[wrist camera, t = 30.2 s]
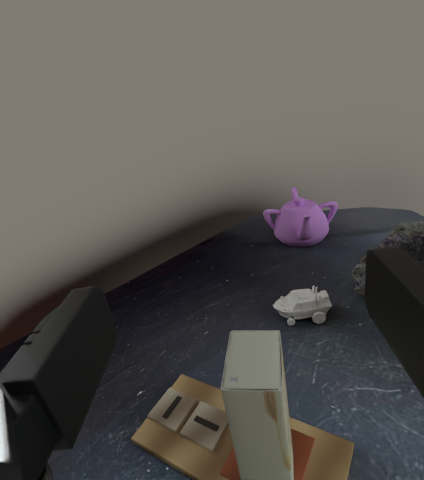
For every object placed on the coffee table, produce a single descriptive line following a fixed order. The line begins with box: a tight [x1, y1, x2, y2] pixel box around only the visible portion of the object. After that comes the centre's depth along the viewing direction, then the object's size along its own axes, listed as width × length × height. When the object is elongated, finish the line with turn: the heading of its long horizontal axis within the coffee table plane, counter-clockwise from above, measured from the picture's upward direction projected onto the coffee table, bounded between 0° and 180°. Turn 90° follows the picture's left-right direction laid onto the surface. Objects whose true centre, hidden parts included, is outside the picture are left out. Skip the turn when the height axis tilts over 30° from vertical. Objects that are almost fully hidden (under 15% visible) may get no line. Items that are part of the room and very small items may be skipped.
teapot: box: [263, 187, 337, 247], centre depth 68 cm, size 12×14×9 cm
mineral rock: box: [352, 221, 424, 297], centre depth 48 cm, size 13×11×10 cm
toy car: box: [273, 286, 332, 326], centre depth 46 cm, size 5×8×4 cm, turn 88°
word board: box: [131, 374, 354, 480], centre depth 31 cm, size 20×9×1 cm, turn 58°
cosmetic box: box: [221, 330, 294, 480], centre depth 27 cm, size 6×4×12 cm
